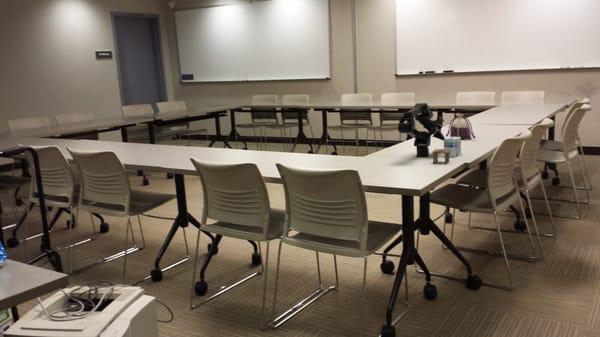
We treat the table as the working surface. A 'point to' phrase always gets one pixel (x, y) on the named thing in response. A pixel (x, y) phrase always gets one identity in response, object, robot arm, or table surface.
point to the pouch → (460, 127)
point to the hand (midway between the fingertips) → (445, 140)
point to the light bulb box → (453, 146)
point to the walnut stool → (440, 151)
